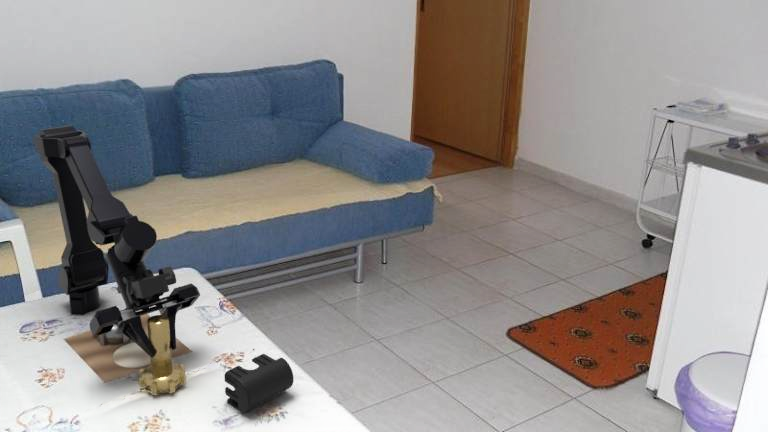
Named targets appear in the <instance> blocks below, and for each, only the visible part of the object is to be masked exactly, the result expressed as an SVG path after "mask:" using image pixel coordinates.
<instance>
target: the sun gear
mask: <svg viewBox="0 0 768 432" xmlns="http://www.w3.org/2000/svg"><path fill="white" fill-rule="evenodd" d="M113 325H114V326H113V328H112V330H111V332H109V333H106V334H103V335H99V336H96V337H93V338H96V340H97V341H98V342H99V343H100V346H104V347H105V346H106V345H119V344H123V345H126V344H129V341H131V339H130V338H128V337H127V336H126V335H124V334H123V333H121V334H117V332H116V331H117V330H118V326H116V324H113ZM92 336H93V335H92Z"/></svg>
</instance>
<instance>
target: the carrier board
mask: <svg viewBox="0 0 768 432" xmlns="http://www.w3.org/2000/svg"><path fill="white" fill-rule="evenodd" d="M140 317H141V322H142V327H143V329H144V331H145V333H146V335H147V337H148V325H147V320H148V319H149V318H150V317H151V315H149V313H148V314H145V315H142V316H140ZM148 339H149V337H148ZM63 341H64V342H65V343H67V344H68V345H69V347H70V348H71V349H72V350H73V351H74V352H75V353H76V354H77V355H78V356H79V357H80V359H81V360H83V361H84V363H86V365H87V366H88V367H89V368H90V369H91V370H92V371H93V372H94V373H95V375H97V376H98V377H99V378H100V379H101V380H102V382H103V383H104V384H106V383H109V382H111V381H114V380H117V379H120V378H122V377H125V376H129V375H131V374H133V373H137V372H139V371H140V369H145V368H146V367H148V366H149V365H151V360H150V356H149V355H148V354H147V353H146V352H145V351H144V350H143V349H142V348H141V347H139V346H138V345H137V344H136V343H135V342H134V341H132V340H131V341H129V344H126V345H123V344H119V345H106V346H105V347H104V346H100V343H99V342H98V341H97V340H96V338H93V336H92V332H91V330H87V331H84V332H81V333H78V334H75V335H72V336H71V335H70V336H68V337H65V338H63ZM192 352H193V350H191V349H190V348H189V347H188V346H186V344H185V343H183V342H182V341H180V340H179V339H178V338H177V337H176V349H175V350H172V349H171V355H172V360H173V359H176V358H179V357H182V356H184V355H188V354H190V353H192Z"/></svg>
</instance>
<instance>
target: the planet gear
mask: <svg viewBox="0 0 768 432" xmlns="http://www.w3.org/2000/svg"><path fill="white" fill-rule="evenodd" d="M147 325H148V337H149V341H150V343H151V345H152V347H153V350H154V353H155V356H154V357H153V358H151V357H150V360H151V365H149V366H148V367H146V368H145V369H140V371H138V374H139V375H138V377H139V378H138V384H139V386H140V387H141V388H140V390H141V391H147V392H149V393H150V394H151V395H152V396H157V395H158V394H164V393H165V394H166V393H169V394H172V393H175V392H176V390H177V389H178V388H180V387H181V386H185V385H186V384H187V374H186V365H184V363H182V364H179V363H177V362H174V360H173V359H172V355H171V341H170V328H169V318H168V317H167V316H165V315H161V314H157V315H151V316H150V318H149V319H148V320H147Z"/></svg>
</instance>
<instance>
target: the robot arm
mask: <svg viewBox="0 0 768 432" xmlns="http://www.w3.org/2000/svg"><path fill="white" fill-rule="evenodd" d="M86 135H87V134H86V132H85V131H83V130H80V129H76V128H75V127H74V126H73V125H71V124H70V125H63V126H55V127H49V128H42V129H41V128H40V129H39V130H38V134H37V135H34V136H33V144H34V149H35V151H36V153H37V154H38V156H39V159H40V162H41V164H43V165H44V166H45V167H46V168H47V169H48V170H49V171H50V173H51V174H52V177H53V183H54V188H55V193H56V196H57V197H56V198H57V202H58V206H59V207H58V208H59V212H60V213H59V214H60V217H61V222H62V226H63V232H64V235H65V240H66V245H65V246H64V249H63V253H62V255H61V258H60V259H61V260H60V261H61V266H62V267H61V268H60V270H59V272H58V274H57V277H56V280H57V285H58V288H59V289H60V290H61V291H62V292H64V294H65V295H66V296H69V297H68V298H69V307H70V314H71V315H75V316H85V315H87V314H88V313H92V312H95V311H96V312H95V313H94V315H93V317H92V318H91V321H90V322H89V329H90V330H91V332H92V335H93V337H96V336H99V335H103V334H106V333H109V332H111V330H112V328H113V326H114V325H113V324H116V326H118V330H117V331H116V332H117V334H121V333H123V334H124V335H126V336H127V337H128V338H130V339H131V340H132V341H134V342H135V343H136V344H137V345H138V346H139V347H141V348H142V349H143V350H144V351H145V352H146V353H147V354H148V355H149V356H150V357H151V358H153V357H154V356H155V353H154V350H153V347H152V345H151V343H150V341H149V339H148V337H147V335H146V333H145V331H144V329H143V327H142V322H141V317H140V316H142V315H145V314H148V315H149V314H151V313H155V312H157V311H158V312H159V315H165V316H167V317H168V318H169V328H170V341H171V349H172V350H175V349H176V338H177V336H176V317H177V314H178V312H179V311H181V310H184V309H187V308H189V307H192V306H193V305H194V304H195V303H196V301H197V300H198V299H199V297H200V296H201V293H200V291H199V289H198V287H197V286H196V285H194V284H193V283H189V284H185V285H182V286H178V287H175V288H173V290H172V291H171V293H170V294H169V295H167V296H165V297H162V296H163V295H164V294H165V293H168V292H170V289H169V286H171V285H175V284H177V277H176V274H175V272H174V269H173V268H172V266H171V265H170V266H166V267H162V268H159V269H158V274H156V275H154V272H153V271H152V270H151V268H149V269H148V268H147V265H146V262H145V260H146V258H147V257H148V255H149V254H150V252H151V250H152V249H153V247H154V246H155V244H156V242H157V239H158V237H157V236H158V235H157V232H156V230H155V228H154V227H153V226H152V225H150V224H149V223H147V222H145V221H141V220H139V218H138V215H133V214H132V213H130V212H129V210H128V208H127V206H126V204H125V203H124V202H123V201H122V200H120V199H119V198H117V197H115V196H114V195H113V194H112V193H111V190H110V188H109V186H108V183H107V181H106V180H105V178H104V176H103V173H102V172H101V169H100V167H99V164H98V162H97V161H96V159H95V157H94V155H93V152H92V145H91V141H90V139H89V137H88V136H86ZM84 202H85V203H84ZM85 205H86V206H85ZM86 207H87V210H88V214H87V212H86ZM109 244H113V245H112V246H110V247H109V248H107V253H106V256H104V251H103V250H102V248H101V247H102V246H105V245H109ZM97 245H99V246H101V247H98V246H97ZM109 268H110V269H111V272H112V275H113V277H114V280H115V281H116V285H117V287H116V291H117V292H118V294H121V296H122V299H123V301H124V304H125V308H124V309H121V310H120V308H119V307H118V306H116V305H114V306H111V307H108V308H104V309H100V307H101V301H100V300H101V299H100V298H101V297H100V291H99V290H100V289H99V287H100V286H104V285H108V281H109ZM161 297H162V298H161ZM98 309H100V310H98ZM90 330H89V331H90Z"/></svg>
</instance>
